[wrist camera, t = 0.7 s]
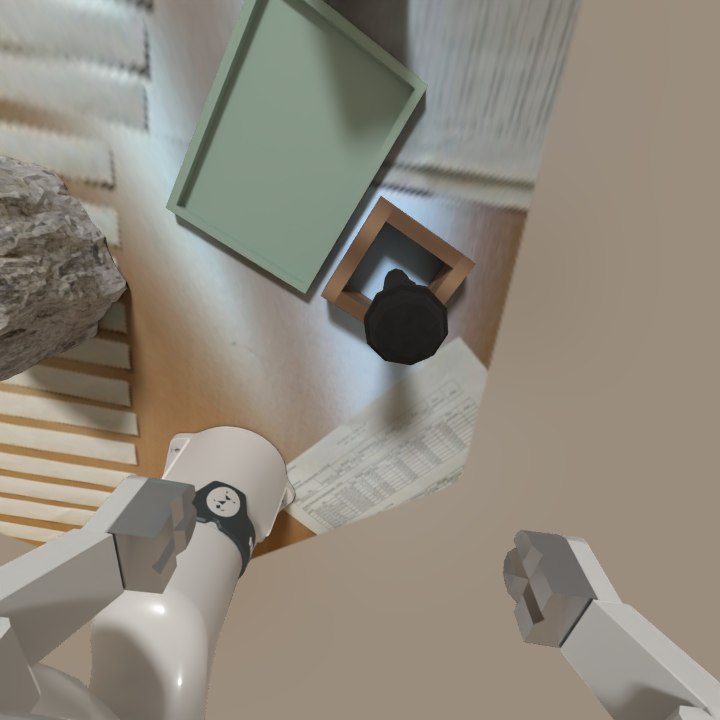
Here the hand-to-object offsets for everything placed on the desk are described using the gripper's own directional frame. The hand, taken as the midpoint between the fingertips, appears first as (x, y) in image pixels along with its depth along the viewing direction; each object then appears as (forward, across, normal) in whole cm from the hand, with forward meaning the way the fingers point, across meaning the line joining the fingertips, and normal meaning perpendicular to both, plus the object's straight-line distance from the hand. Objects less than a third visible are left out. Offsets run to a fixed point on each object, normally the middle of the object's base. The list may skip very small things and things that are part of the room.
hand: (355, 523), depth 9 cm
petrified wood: (+35, +35, +4) cm, 50 cm away
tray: (+34, +10, -9) cm, 37 cm away
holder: (+34, -3, +1) cm, 35 cm away
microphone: (+35, -3, +1) cm, 35 cm away
